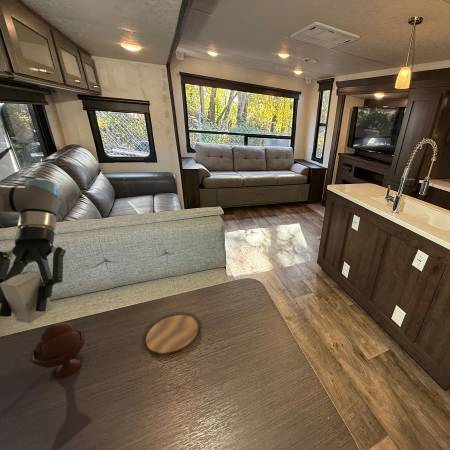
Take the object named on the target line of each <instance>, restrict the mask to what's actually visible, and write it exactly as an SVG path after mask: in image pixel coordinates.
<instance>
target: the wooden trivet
mask: <svg viewBox="0 0 450 450" xmlns="http://www.w3.org/2000/svg"><path fill="white" fill-rule="evenodd" d="M198 333H199V324H198V321H197V320H196V319H195V318H193V317H192V316H189V315H186V314H185V315H183V314H179V315H172V316H168V317H166V318H163V319H161V320H159V321H158V322H157V323H155V324H154V325H153V326H152V327H151V328H150V329H149V330H148V333H147V334H146V337H145V343H146V347H147V349H148V350H149V351H150V352H151V353H153V354H155V355H170V354H171V355H172V354H174V353H178V352H180V351H182V350H184V349H185V348H187V347H189V345H191V344H192V343H193V341H195V339H196V338H197V336H198V335H199V334H198Z"/></svg>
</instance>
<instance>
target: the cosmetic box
mask: <svg viewBox="0 0 450 450" xmlns="http://www.w3.org/2000/svg"><path fill="white" fill-rule="evenodd" d="M42 283H43V281H42V277H41V274H40V272H35V271H25V270H24V271H22V273H21V274H19V275H16V276H14V277H12V278H10V279H8V280H6V281H4V282H2V283H0V287H1V289H2V291H3V293H4V295H5V297H6V300H7V302H8V304H9V306H10V308H11V310H12V315H13V316H14V318H15V321H16V322H20V323H27V324H31V323H33V322H35V321H36V320H38V319H39V318H41V317H42V316H44V315H45V314H47V313H48V312H50V311H51V310H52V309H53V305H52V302H51V299H50V298H47V303H46V311H43V312H40V311H36V304H37V297H38V290H39V286H42V285H43V286H44V284H42Z"/></svg>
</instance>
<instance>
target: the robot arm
mask: <svg viewBox="0 0 450 450" xmlns="http://www.w3.org/2000/svg"><path fill="white" fill-rule="evenodd" d="M60 197H61V188H60V186H59V185H58V184H57V183H55V182H54V181H52V180H48V179H44V178H33V179H32V178H30V179H28V180H26V182H25V183H24V185H22V186H21V185H18V186H17V185H16V186H15V185H0V214H1V213H19V216H18V222H17V229H16V233H15V238H14V246H13V247H12V248H11V250H6V251H2V250H1V251H0V283H2V282H4V281H6V280H8V279H10V278H12V277H14V276H16V275H19V274H21V273H23V272H24V269H25V268H26V267H27V266H28V265H29V264H30V263H34V262H35V263H37V267H38V270H39V274H40V277H41V279H42V282H43V283H42V284H44V286H43V285H42V286H39V290H38V297H37V304H36V311H40V312H43V311H46V303H47V298H49V299H50V298H51V297H52V294H53V289H54V288H53V287H54V286H55V285H56V284H59V283H60V284H61V283H62V282H63V280H64V279H63V277H64V276H63V275H64V257H65V254H66V253H67V249H65V248H63V247H61V246H57V247H55V246H54V245H53V244H54V241H55V235H56V233H55V231H56V225H57V218H58V212H59V211H58V210H59V206H60V205H59V204H60V201H61V198H60ZM51 254H53V255H52V272H51V268H50V266H49V263H50V262H49V259H48V257H49V255H51ZM13 256H14V257H15V258H14V260H13V262H12V266H11V260H12V259H13ZM10 266H11V267H10ZM0 304H1V305H0V317H1V318H2V317H5V318H6V317H7V318H8V317H12V315H13V312H12V310H11V308H10V306H9V304H8V302H7V300H6V297H5V295H4V293H3V291H2V289H1V287H0Z"/></svg>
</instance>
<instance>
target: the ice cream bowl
mask: <svg viewBox="0 0 450 450" xmlns="http://www.w3.org/2000/svg"><path fill="white" fill-rule="evenodd" d="M85 344H86V339H85V334H84V331H83V330H79V329H74V328H73V326H72V324H70V323H69V322H57V323H54V324H52V325H49V327H47V328H46V329H44V332H43V333H42V334H41V336H40V339H39V341H37V342H36V344H35V346H34V347H33V348H32V350H31V351H30V363H32V364H34V365H36V366H38V367H39V366H40V367H43V368H47V369H49V368H54V367H57V368H56V369H55V377H56V378H59V379H63V378H66V377H70V376H71V375H73V374H75V373H76V372H78V370H79V369H80V367H81V365H82V364H81V363H82V362H81V361H80V360H79V359H75V358H76V357H77V356H78V355H79V353H80V352H81V351H82V349H83V348H84V346H85Z"/></svg>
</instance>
